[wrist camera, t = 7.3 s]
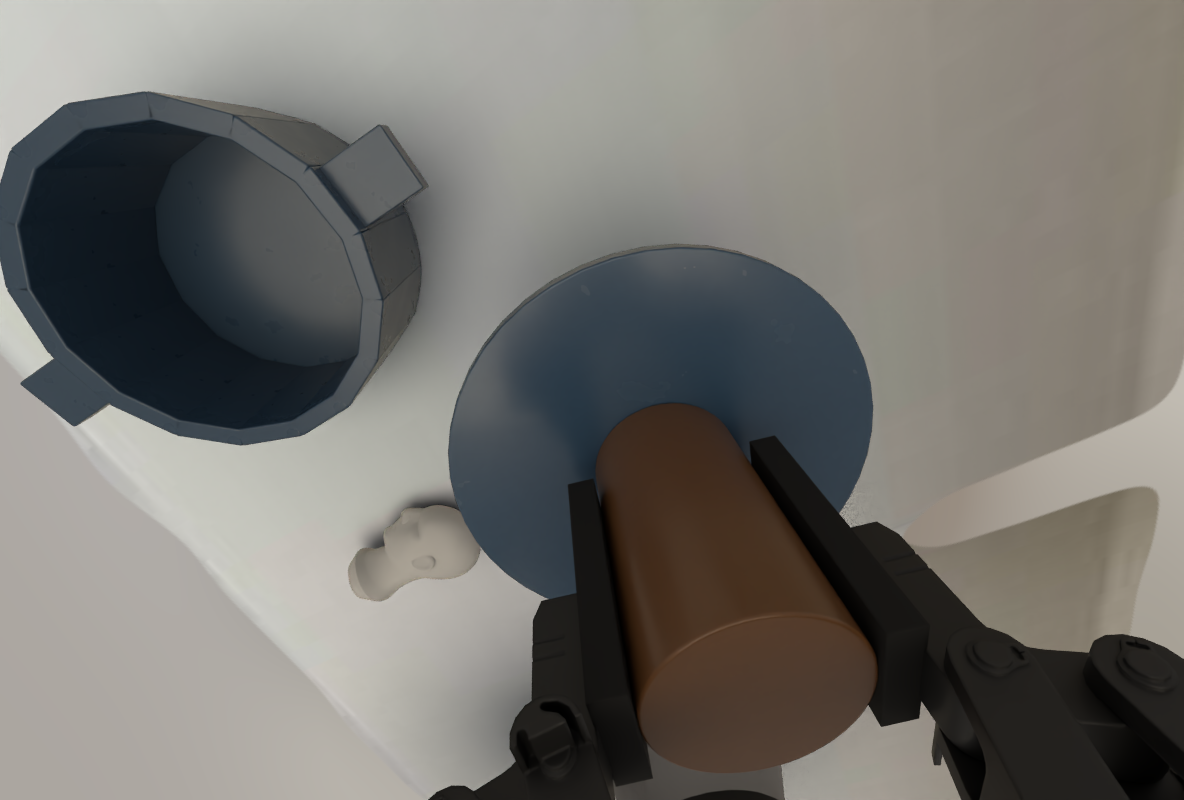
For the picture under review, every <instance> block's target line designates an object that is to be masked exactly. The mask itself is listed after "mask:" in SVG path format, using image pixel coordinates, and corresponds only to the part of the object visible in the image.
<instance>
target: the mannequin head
mask: <svg viewBox="0 0 1184 800" xmlns="http://www.w3.org/2000/svg"><path fill="white" fill-rule="evenodd" d="M383 537H384V544H385V546H382V547H380V548H377V549H373V548H362V549H360V550H359V551H358V552H357V554H356V555H355V557H354V558H353V560H352V561H351V563H350V565H349V568H348V577H349V582H350V586H351V588H352V591H353V592H354V594H355V595H356V596H357V597H359V598H361V599H367V600H372V601H383V600H386V599H388V598H389V597H391V596H392V595H393V594H394V593H395V592H396V591H397V590H398V589H399V588H400V587H402V586H403V585H405V584H407V583H409V582H411V581H414V580H417V579H421V578H430V579H451V578H456V577H459V576H461V575H463V574H465V573H466V572H468V571H469V570H470V569H471V568H472V567H473V566H474V565H475V563H476V562H477V560H478V557H479V554H480V545H479V544H478V543H477V542H476V540H475V539H474V537H473V535H472V534H471V532H470V530H469V529H468V527H467V525H466V524H465V522H464V520H463V517H462V515H461V512H460V511H458V510H456V509H454V508H451V507H447V506H443V505H432V506H429V507H426V508H406V509H404V510H403V511H402V513H401V518H399V519H398V520H397V521H396V523H394V524H393V525H392V526H390V527H387V528H386V529H385V531H384V534H383Z"/></svg>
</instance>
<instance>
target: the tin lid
mask: <svg viewBox="0 0 1184 800" xmlns="http://www.w3.org/2000/svg"><path fill="white" fill-rule="evenodd" d="M872 418H873V401H872V392H871V382H870V379H869V375H868V371H867V368H866V364H865V360H864V357H863V355H862V353H861V351H860V349H859V346H858V344H857V342H856V340H855V338H854V335H853V334H852V332H851V331H850V330H849V328H848V327H847V325H846V324H845V322H844V321H843V319H842V318H841V316H840V315H839V314H838V313H837V311H836V310H835V309H834V308H833V307H832V306H831V305H830V304H829V303H828V302H827V301H826V300H825V299H824V298H823V297H822V296H821V295H820V294H819V293H818V292H816V291H815V290H814V289H812V288H811V287H810V286H808V285H807V284H806V283H804V282H803V281H802V280H800V279H799V278H797V277H796V276H794V275H792V274H790V273H788V272H786V271H784V270H782V269H780V268H778V267H777V266H775V265H773V264H771V263H769V262H767V261H765V260H762V259H759V258H756V257H753V256H750V255H747V254H744V253H741V252H739V251H734V250H729V249H724V248H719V247H713V246H708V245H689V244H668V245H657V246H646V247H640V248H635V249H631V250H627V251H622V252H618V253H614V254H610V255H607V256H604V257H602V258H599V259H596V260H594V261H591V262H588V263H586V264H583V265H580V266H578V267H576V268H574V269H573V270H571V271H569V272H567V273H565V274H563V275H561V276H559V277H558V278H556V279H554V280H552V281H550V282H549V283H547V284H546V285H545V286H543V287H542V288H541V289H539V290H538V291H536V292H535V293H534V294H532V295H531V296H529V297H528V298H527V299H525V300H524V301H523V302H522V303H521V304H520V305H519V306H518V307H517V308H516V309H515V310H513V311H512V312H511V313H510V314H509V315H508V316H507V317H506V318H505V319H504V320H503V321H502V322H501V323H500V325H499V326H498V327H497V328H496V330H495V331H494V332H493V333H492V335H491V336H490V337H489V338H488V339H487V341H486V342H485V343H484V345H483V346H482V348H481V350H480V351H479V353H478V355H477V356H476V358H475V360H474V361H473V363H472V365H471V367H470V368H469V370H468V373H467V375H466V378H465V380H464V383H463V385H462V388H461V390H460V392H459V395H458V398H457V401H456V405H455V409H454V413H453V418H452V422H451V426H450V436H449V448H448V458H449V471H450V479H451V483H452V488H453V492H454V496H455V500H456V503H457V505H458V507H459V510H460V512H461V515H462V517H463V520H464V522H465V524H466V525H467V527H468V529H469V530H470V532H471V534H472V535H473V537H474V539H475V540H476V542H477V543H478V544H479V545H480V547H481V548H482V549H483V550H484V552H485V553H486V554H487V555H488V556H489V558H490V559H491V560H492V561H493V562H494V563H496V564H497V565H498V566H499V567H500V568H501V569H502V570H503V571H504V572H505V573H506V574H508V575H509V576H510V577H512V578H513V579H515V580H516V581H517V582H519V583H520V584H522V585H523V586H525V587H526V588H528V589H530V590H532V591H534V592H536V593H537V594H539V595H541V596H543V597H545V598H548V599H553V598H557V597H561V596H566V595H570V594H574V593H576V581H575V569H574V557H573V544H572V532H571V520H570V508H569V495H568V484H571V483H576V482H580V481H584V480H588V479H592V478H593V480H594V484H595V487H596V491H597V495H598V499H599V502H600V506H601V511H602V517H603V523H604V529H605V535H606V541H607V546H608V552H609V558H610V564H611V570H612V576H613V582H614V588H615V594H616V600H617V606H618V612H619V618H620V624H621V630H622V635H623V641H624V647H625V653H626V659H627V665H628V671H629V677H630V683H631V689H632V695H633V701H634V707H635V713H636V718H637V722H638V726H639V729H640V732H641V734H642V736H643V738H644V740H645V741H646V743H647V744H648V745H649V746H650V748H651V749H652V750H653V751H655V752H656V753H657V754H658V755H659V756H661V757H662V758H664V759H666V760H667V761H669V762H671V763H673V764H676V765H678V766H681V767H684V768H687V769H690V770H695V771H700V772H708V773H744V772H751V771H758V770H763V769H767V768H772V767H775V766H779V765H782V764H785V763H788V762H791V761H794V760H796V759H799V758H801V757H803V756H806V755H808V754H810V753H812V752H814V751H816V750H818V749H819V748H821V747H823V746H825V745H826V744H828V743H829V742H831V741H832V740H834V739H835V738H837V737H838V736H839V735H841V734H842V733H843V732H844V731H846V730H847V729H848V728H849V727H850V726H851V725H852V724H853V723H854V722H855V721H856V720H857V719H858V718H859V717H860V715H861V714H862V713H863V712H864V710H865V709H866V707H867V706H868V704H869V703H870V701H871V699H872V697H873V694H874V692H875V689H876V686H877V682H878V671H879V670H878V663H877V657H876V654H875V652H874V649H873V647H872V646H871V644H870V642H869V641H868V639H867V638H866V636H865V635H864V633H863V632H862V630H861V629H860V627H859V626H858V624H857V623H856V621H855V620H854V618H853V617H852V615H851V614H850V612H849V611H848V609H847V608H846V606H845V605H844V603H843V602H842V600H841V599H840V597H839V596H838V594H837V593H836V591H835V590H834V588H833V587H832V585H831V584H830V582H829V581H828V579H827V578H826V576H825V575H824V573H823V572H822V570H821V569H820V567H819V566H818V564H817V563H816V561H815V560H814V558H813V557H812V555H811V554H810V552H809V551H808V549H807V548H806V546H805V545H804V543H803V542H802V540H801V539H800V537H799V536H798V534H797V533H796V531H795V530H794V528H793V527H792V525H791V524H790V522H789V521H788V519H787V518H786V516H785V515H784V513H783V512H782V510H781V509H780V507H779V506H778V504H777V503H776V501H775V500H774V498H773V497H772V495H771V494H770V492H769V491H768V489H767V488H766V486H765V485H764V483H763V482H762V480H761V479H760V477H759V475H758V474H757V472H756V471H755V469H754V468H753V466H752V465H751V455H750V444H749V441H753V440H757V439H761V438H766V437H770V436H774V435H775V436H776V437H777V438H778V440H779V441H780V442H781V443H782V444H783V446H784V447H785V448H786V449H787V451H788V452H789V453H790V454H791V455H792V457H793V458H794V459H795V460H796V462H797V463H798V464H799V465H800V466H801V468H802V469H803V470H804V471H805V473H806V474H807V475H808V476H809V477H810V479H811V480H812V481H813V482H814V484H815V485H816V486H817V487H818V489H819V490H820V491H821V492H822V493H823V495H824V496H825V497H826V498H827V500H828V501H829V502H830V503H831V504H832V506H833V507H834V508H835V509H836V511H837V512H838V513H840V511H841V510H842V508H843V507H844V505H845V503H846V502H847V500H848V499H849V497H850V495H851V493H852V491H853V489H854V487H855V485H856V483H857V481H858V479H859V477H860V474H861V471H862V468H863V465H864V462H865V459H866V456H867V453H868V448H869V443H870V438H871V433H872Z"/></svg>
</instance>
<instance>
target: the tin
mask: <svg viewBox="0 0 1184 800" xmlns="http://www.w3.org/2000/svg"><path fill="white" fill-rule="evenodd" d="M427 187H428V184H427V183H426V181H425V180H424V178H423V177H422V175H421V174H420V172H419V171H418V169H417V168H416V167H415V165H414V164H413V162H412V161H411V159H410V158H409V156H408V155H407V153H406V152H405V151H404V149H403V148H402V146H401V145H400V143H399V142H398V140H397V139H396V137H395V136H394V135H393V133H392V132H391V130H390V129H389V127H388V126H386V125H377V126H376V127H375V128H373V129H372V130H371V131H369V132H368V133H366V134H365V135H364V136H362V137H361V138H359V139H358V140H357V141H355V142H354V143H352V144H351V145H349V144H347V143H346V142H344V141H343V140H341V139H339V138H338V137H336V136H335V135H333V134H331V133H330V132H328V131H326V130H324V129H322V128H321V127H320V126H318V125H316V124H314V123H310V122H307V121H303V120H299V119H296V118H294V117H290V116H286V115H281V114H277V113H273V112H270V111H266V110H262V109H259V108H254V107H247V106H241V105H234V104H228V103H221V102H215V101H208V100H201V99H195V98H188V97H182V96H175V95H168V94H162V93H155V92H149V91H148V92H145V91H144V92H137V93H131V94H124V95H117V96H111V97H104V98H98V99H91V100H85V101H78V102H72V103H68V104H66V105H63V106H62V107H61V108H60V109H59V110H57V111H56V112H55V113H54V114H52V115H51V116H50V117H49V118H48V119H46V120H45V121H44V122H43V123H42V124H40V125H39V126H38V127H37V128H35V129H34V130H33V131H32V132H31V133H29V134H28V135H27V136H26V137H25V138H23V139H22V140H21V141H20V142H18V143H17V144H16V145H15V146H14V147H12V150H11V151H10V152H9V155H8V159H7V162H6V166H5V169H4V172H3V176H2V179H1V183H0V262H1V266H2V271H3V276H4V280H5V285H6V287H7V288H8V289H7V290H8V292H9V294H10V295H11V297H12V298H13V300H14V301H15V303H16V304H17V306H18V307H19V309H20V310H21V312H22V313H23V315H24V317H25V318H26V320H27V321H28V323H29V324H30V326H31V327H32V329H33V330H34V332H35V333H36V335H37V336H38V338H39V339H40V341H41V342H42V344H43V345H44V347H45V349H46V350H47V352H48V353H50V354H51V356H52V357H53V358H54V359H53V360H51V361H50V362H48V363H47V364H46V365H44V366H43V367H41V368H40V369H39V370H37V371H36V372H35V373H33V374H32V375H30V376H29V377H28V378H26V379H25V380H23V381H22V382H21V385H22V386H23V387H24V388H26V389H27V390H28V391H29V392H31V393H32V394H33V395H34V396H36V397H37V398H38V399H39V400H41V401H42V402H43V403H44V404H46V405H47V406H48V407H49V408H51V409H52V410H53V411H55V412H56V413H57V414H58V415H60V416H61V417H62V418H63V419H65V420H66V421H67V422H68V423H70V424H71V425H72V426H77V425H79V424H81V423H82V422H84V421H86V420H87V419H89V418H91V417H92V416H94V415H95V414H97V413H98V412H100V411H101V410H103V409H104V408H105V407H107V406H108V405H112V406H114V407H116V408H118V409H120V410H122V411H125V412H127V413H129V414H131V415H133V416H136V417H138V418H140V419H142V420H144V421H146V422H149V423H151V424H153V425H155V426H157V427H159V428H162V429H164V430H166V431H168V432H170V433H172V434H175V435H176V434H177V435H178V436H183V437H190V438H196V439H203V440H209V441H216V442H222V443H228V444H235V445H249V444H255V443H261V442H267V441H273V440H279V439H285V438H291V437H297V436H302V435H305V434H306V433H308V432H310V431H311V430H313V429H314V428H316V427H318V426H319V425H321V424H322V423H324V422H326V421H327V420H329V419H330V418H332V417H334V416H335V415H337V414H339V413H340V412H342V411H343V410H345V409H347V408H348V407H349V406H350V405H351V404H352V403H353V401H354V400H355V399H356V397H357V396H358V395H359V393H360V392H361V391H362V389H363V388H364V387H365V385H366V384H367V383H368V381H369V380H370V379H371V377H372V376H373V375H374V373H375V372H376V371H377V369H378V368H379V367H380V365H381V364H382V363H383V361H384V360H385V359H386V357H387V356H388V355H389V353H390V352H391V350H392V349H393V348H394V346H395V344H396V343H397V341H398V340H399V338H400V336H401V335H402V333H403V332H404V330H405V329H406V327H407V325H408V324H409V322H410V320H411V319H412V317H413V316H414V314H415V311H416V304H417V301H418V296H419V291H420V282H421V265H420V254H419V249H418V245H417V240H416V236H415V233H414V230H413V228H412V225H411V222H410V219H409V217H408V215H407V213H406V211H405V209H404V207H403V205H402V204H404V203H405V202H407V201H408V200H410V199H411V198H412V197H414V196H415V195H417V194H418V193H420V192H421V191H423V190H424V189H426V188H427Z"/></svg>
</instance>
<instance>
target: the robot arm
mask: <svg viewBox="0 0 1184 800" xmlns="http://www.w3.org/2000/svg"><path fill="white" fill-rule="evenodd" d="M749 444H750V455H751V465H752V466H753V468H754V469H755V471H756V472H757V474H758V475H759V477H760V479H761V480H762V482H763V483H764V485H765V486H766V488H767V489H768V491H769V492H770V494H771V495H772V497H773V498H774V500H775V501H776V503H777V504H778V506H779V507H780V509H781V510H782V512H783V513H784V515H785V516H786V518H787V519H788V521H789V522H790V524H791V525H792V527H793V528H794V530H795V531H796V533H797V534H798V536H799V537H800V539H801V540H802V542H803V543H804V545H805V546H806V548H807V549H808V551H809V552H810V554H811V555H812V557H813V558H814V560H815V561H816V563H817V564H818V566H819V567H820V569H821V570H822V572H823V573H824V575H825V576H826V578H827V579H828V581H829V582H830V584H831V585H832V587H833V588H834V590H835V591H836V593H837V594H838V596H839V597H840V599H841V600H842V602H843V603H844V605H845V606H846V608H847V609H848V611H849V612H850V614H851V615H852V617H853V618H854V620H855V621H856V623H857V624H858V626H859V627H860V629H861V630H862V632H863V633H864V635H865V636H866V638H867V639H868V641H869V642H870V644H871V646H872V647H873V649H874V652H875V654H876V657H877V663H878V670H879V671H878V682H877V686H876V689H875V692H874V694H873V697H872V699H871V701H870V703H869V704H868V705H869V707H870V709H871V710H872V712H873V714H874V715H875V717H876V719H877V721H878V722H879V724H880V726H881V727H883V726H888V725H892V724H896V723H901V722H905V721H910V720H914V719H918V718H919V715H920V706H921V701H922V703H923V704H924V705H925V707H926V708H927V710H928V711H929V713H930V714H931V716H932V717H933V719H934V720H935V721H936V724H935V731H934V738H933V745H932V757H933V762H934V765H941V759H942V755H943V757H944V759H945V762H946V764H947V767H948V769H949V771H950V774H951V776H952V779H953V781H954V783H955V786H956V788H957V790H958V793H959V795H960V798H961V800H1184V659H1182V658H1181V657H1179V656H1178V655H1176V654H1175V653H1173V652H1172V651H1170V650H1169V649H1167V648H1165V647H1163V646H1161V645H1158V644H1156V643H1153V642H1151V641H1148V640H1146V639H1143V638H1138V637H1133V636H1129V635H1124V634H1118V635H1105V636H1103V637H1101V638H1099V639H1097V640H1095V641H1094V642H1093V644H1092V647H1091V649H1090V652H1089V653H1084V652H1070V651H1056V650H1043V649H1036V648H1030V647H1026V646H1024V645H1023V644H1021V643H1020V642H1018V641H1017V640H1015V639H1014V638H1012V637H1011V636H1009V635H1007V634H1005V633H1002V632H999V631H997V630H994V629H991V628H987V627H986V626H985V625H983V624H982V623H981V622H980V621H979V620H978V619H977V618H976V617H975V616H974V615H973V614H972V612H971V611H970V610H969V609H968V608H967V607H966V606H965V605H964V604H963V603H962V602H961V601H960V600H959V598H958V597H957V596H956V595H955V594H954V593H953V592H952V591H951V590H950V589H949V588H948V587H947V586H946V584H945V583H944V582H943V581H942V580H941V579H940V578H939V577H938V576H937V575H936V574H935V573H934V572H933V570H932V569H931V568H930V569H929V568H928V566H927V564H926V563H925V562H924V561H923V560H922V559H921V558H920V556H919V555H918V554H917V555H916V554H915V552H914V550H913V549H912V548H911V547H910V546H909V545H908V544H907V542H906V541H905V540H904V539H903V538H902V537H901V536H900V535H899V534H898V533H896V532H894V531H892V530H891V529H889V528H887V527H885V526H884V525H882V524H880V523H878V522H873V523H869V524H864V525H860V526H856V527H851V528H850V526H849V525H848V524H847V523H846V522H845V520H844V519H843V518H842V517H841V515H840V514H839V513H838V512H837V511H836V509H835V508H834V507H833V506H832V504H831V503H830V502H829V501H828V500H827V498H826V497H825V496H824V495H823V493H822V492H821V491H820V490H819V489H818V487H817V486H816V485H815V484H814V482H813V481H812V480H811V479H810V477H809V476H808V475H807V474H806V473H805V471H804V470H803V469H802V468H801V466H800V465H799V464H798V463H797V462H796V460H795V459H794V458H793V457H792V455H791V454H790V453H789V452H788V451H787V449H786V448H785V447H784V446H783V444H782V443H781V442H780V441H779V440H778V438H777V437H776V436H775V435H774V436H770V437H766V438H761V439H757V440H753V441H749ZM568 495H569V508H570V520H571V532H572V544H573V557H574V569H575V581H576V593H574V594H570V595H566V596H561V597H557V598H553V599H548V600H544V601H541V603H540V606H539V608H538V610H537V612H536V615H535V617H534V619H533V647H532V658H533V662H532V701H531V702H530V703H528V704H527V705H525V706H524V708H523V709H522V710H521V711H520V713H519V714H518V715H517V717H516V718H515V720H514V723H513V726H512V728H511V731H510V750H511V752H512V754H513V756H514V758H515V760H516V762H515V763H514V764H513V765H512V766H511V767H510V768H509V769H507V770H506V771H505V772H504V773H502V774H501V775H499V776H498V777H496V778H495V779H493V780H491V781H490V782H488V783H487V784H485V785H483V786H482V787H480V788H479V789H477V790H475V791H472V790H471V789H469V788H467V787H466V786H449V787H447V788H445V789H443V790H440V791H438V792H436V793H435V794H434V795H433V796H432V797H431V798H430V799H428V800H615V797H616V800H785V798H784V790H783V780H782V769H781V765H779V766H775V767H772V768H767V769H763V770H758V771H751V772H744V773H708V772H700V771H695V770H690V769H687V768H684V767H681V766H678V765H676V764H673V763H671V762H669V761H667V760H666V759H664V758H662V757H661V756H659V755H658V754H657V753H656V752H655V751H653V750H652V749H651V748H650V746H649V745H648V744H647V743H646V741H645V740H644V738H643V736H642V734H641V732H640V729H639V726H638V722H637V718H636V713H635V707H634V701H633V695H632V689H631V683H630V677H629V671H628V665H627V659H626V653H625V647H624V641H623V635H622V630H621V624H620V618H619V612H618V606H617V600H616V594H615V588H614V582H613V576H612V570H611V564H610V558H609V552H608V546H607V541H606V535H605V529H604V523H603V517H602V511H601V506H600V502H599V499H598V495H597V491H596V487H595V484H594V480H593V478H592V479H588V480H584V481H580V482H576V483H571V484H568Z"/></svg>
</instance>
